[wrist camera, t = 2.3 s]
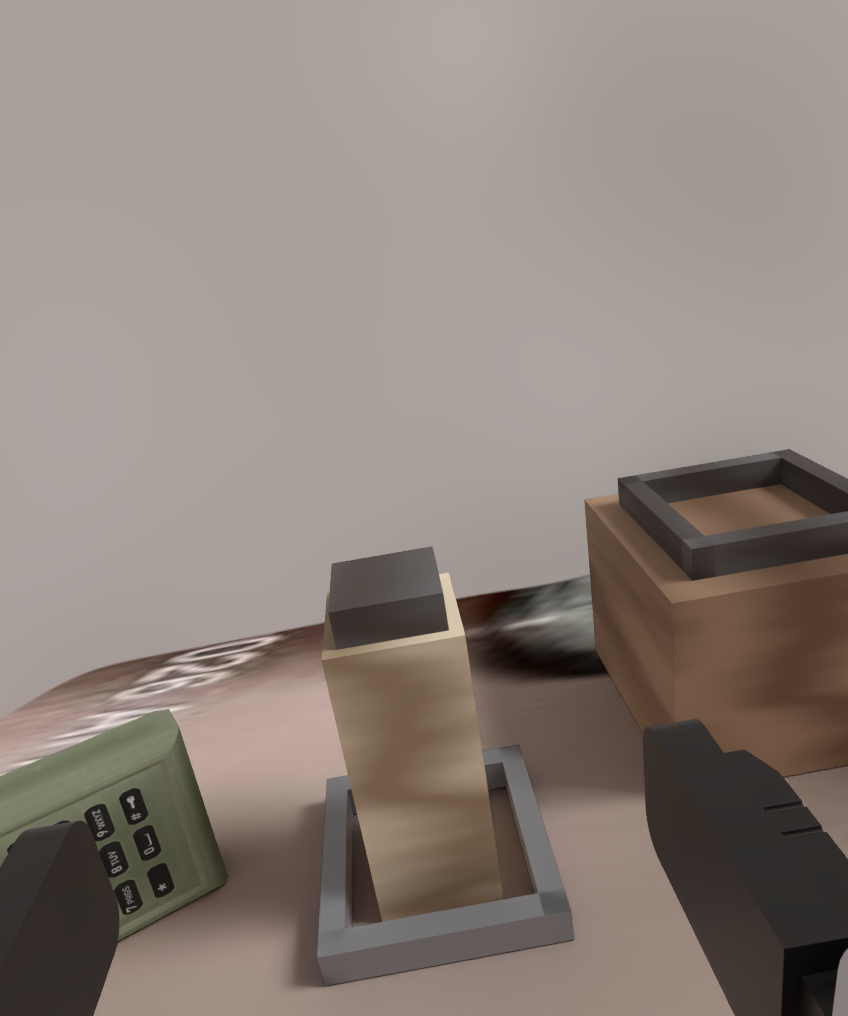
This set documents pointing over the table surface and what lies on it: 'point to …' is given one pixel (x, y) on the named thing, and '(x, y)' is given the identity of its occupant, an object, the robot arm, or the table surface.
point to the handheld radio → (125, 814)
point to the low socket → (450, 930)
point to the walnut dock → (729, 603)
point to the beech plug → (410, 733)
